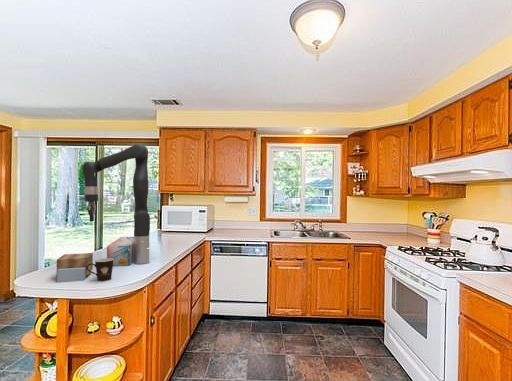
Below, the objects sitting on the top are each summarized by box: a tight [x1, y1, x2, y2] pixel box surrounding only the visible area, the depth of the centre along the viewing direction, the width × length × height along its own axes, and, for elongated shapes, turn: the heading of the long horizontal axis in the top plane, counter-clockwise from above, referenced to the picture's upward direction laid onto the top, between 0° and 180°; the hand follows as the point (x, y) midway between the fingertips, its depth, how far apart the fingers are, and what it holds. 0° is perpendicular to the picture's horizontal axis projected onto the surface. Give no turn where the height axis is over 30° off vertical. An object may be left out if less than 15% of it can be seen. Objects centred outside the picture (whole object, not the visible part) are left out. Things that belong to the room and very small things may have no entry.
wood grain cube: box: [56, 252, 94, 277], centre depth 168 cm, size 14×14×9 cm
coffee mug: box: [87, 257, 114, 282], centre depth 162 cm, size 12×9×10 cm
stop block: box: [56, 267, 86, 283], centre depth 160 cm, size 12×2×6 cm, turn 108°
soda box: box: [106, 236, 134, 267], centre depth 210 cm, size 41×14×13 cm, turn 12°
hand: (91, 221), depth 197 cm, fingers closed
